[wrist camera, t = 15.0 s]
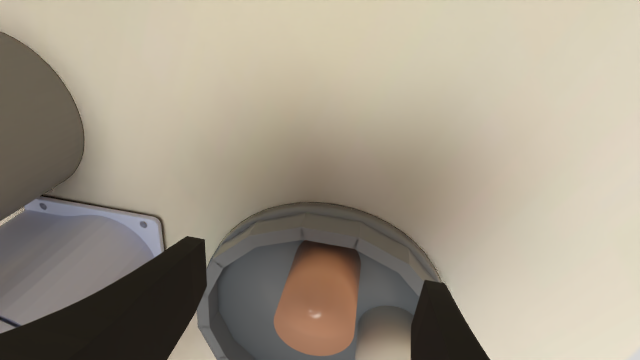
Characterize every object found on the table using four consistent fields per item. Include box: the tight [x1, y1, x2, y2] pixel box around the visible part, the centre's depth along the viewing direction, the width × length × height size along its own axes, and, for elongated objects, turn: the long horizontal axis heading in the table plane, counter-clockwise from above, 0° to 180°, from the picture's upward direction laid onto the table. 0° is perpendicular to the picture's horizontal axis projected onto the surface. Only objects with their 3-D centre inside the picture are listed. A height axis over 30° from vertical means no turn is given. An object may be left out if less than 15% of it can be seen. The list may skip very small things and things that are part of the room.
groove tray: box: [197, 203, 441, 360], centre depth 26 cm, size 16×16×2 cm
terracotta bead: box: [274, 240, 361, 356], centre depth 21 cm, size 4×4×5 cm
